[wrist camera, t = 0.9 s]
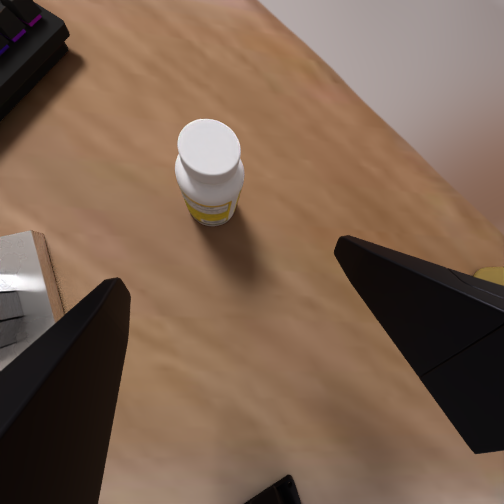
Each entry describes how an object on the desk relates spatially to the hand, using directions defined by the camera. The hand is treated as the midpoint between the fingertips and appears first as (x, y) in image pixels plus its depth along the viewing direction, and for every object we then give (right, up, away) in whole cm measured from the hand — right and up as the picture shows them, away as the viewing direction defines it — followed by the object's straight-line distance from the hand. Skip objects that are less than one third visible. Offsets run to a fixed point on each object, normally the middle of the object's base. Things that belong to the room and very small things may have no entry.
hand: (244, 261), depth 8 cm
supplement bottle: (-4, +6, +14) cm, 16 cm away
